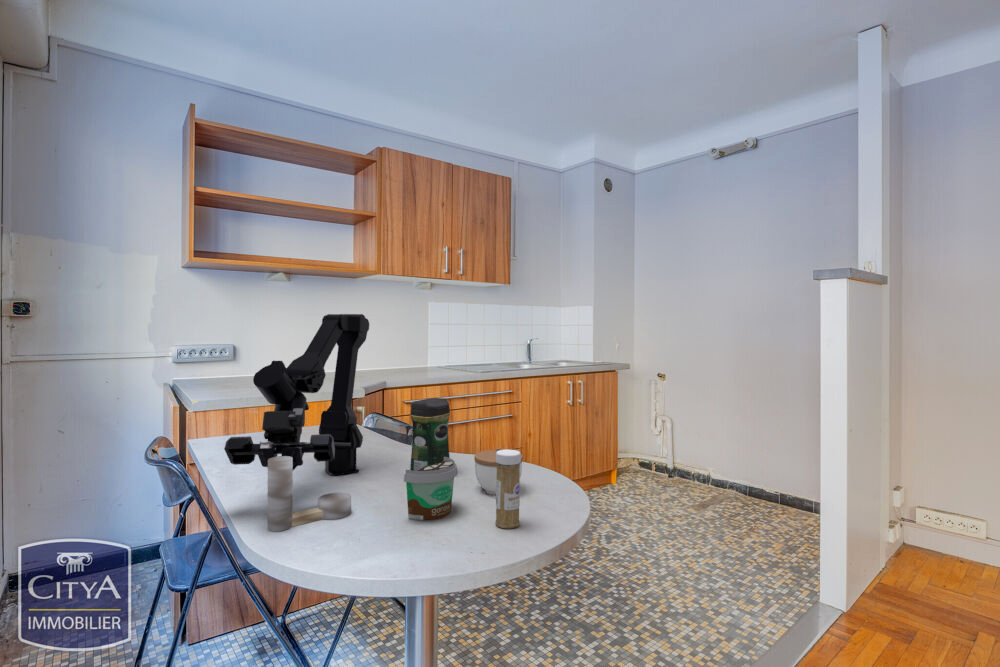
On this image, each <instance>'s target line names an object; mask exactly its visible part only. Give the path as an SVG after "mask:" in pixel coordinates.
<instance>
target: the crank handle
mask: <svg viewBox="0 0 1000 667" xmlns="http://www.w3.org/2000/svg"><path fill="white" fill-rule="evenodd" d="M293 472H294V470H293V458H292V457H290V456H282V455H281V456H278V455H277V456H276V457H273V458H270V459H268V467H267V527H266V529H267V530H268V531H269V532H273V533H278V532H284V531H287V530H289V529H291V528H293V527H297V526H301V525H304V524H309V523H312V522H315V521H320V520H339V519H344V518H347V517H348V516H350V515H351V514H352V495H351V494H350V493H347V492H331V493H330V492H329V493H325V494H322V495H320V496H319V497H318V498H317V507H314V508H308V509H305V510H300V511H296V512H293V490H294V489H293Z"/></svg>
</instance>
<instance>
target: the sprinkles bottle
mask: <svg viewBox="0 0 1000 667" xmlns="http://www.w3.org/2000/svg"><path fill="white" fill-rule="evenodd" d="M521 455H522V453H521V452H520V451H519V450H517V449H501V450H499V451H497V452H496V462H497V463H496V464H497V478H496V494H495V508H496V509H495V510H496V511H495V515H496V517H495V521H494V522H495V526H497V527H499V528H502V529H506V530H507V529H514V528H517V527H518V526H519V525H520V506H521V505H520V504H521V502H520V500H521V495H520V494H521V489H520V488H521V485H520V483H521V482H520V479H521V477H520V462H521Z"/></svg>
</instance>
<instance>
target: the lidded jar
mask: <svg viewBox="0 0 1000 667" xmlns="http://www.w3.org/2000/svg"><path fill="white" fill-rule="evenodd" d="M499 450H502V447H496V449H488V450H482V451H478V452H477V453H475V454H474V470H475V477H476V480H477V483H478V484H479V486H481V487H482V488H483V490H484V492H485V491H486V492H485V493H487V492H488V494H490V493H491V494H490V495H496V478H497V464H496V463H497V462H496V452H497V451H499ZM523 461H524V456H523V455H522V454H521V462H520V478H521V477H522V476H521V475H522V472H523Z"/></svg>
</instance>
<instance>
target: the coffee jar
mask: <svg viewBox="0 0 1000 667" xmlns="http://www.w3.org/2000/svg"><path fill="white" fill-rule="evenodd" d="M409 415H410V416H409V417H410V419H411V423H412V424H411V425H412V442H411V443H412V444H411V454H410V455H411V456H410V469H409V470H411V471H417V470H419V469H421V468H423V467H425V466H427V465H434V464H438V463H440V462H443V461H444V457H448V458H450V445H449V420H450V415H451V411H450V403H449V401H448V400H447V399H446V398H441V397H430V398H425V399H421V400H420V399H419V400H415V401H413V402H412V403H411V404H410V414H409Z"/></svg>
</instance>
